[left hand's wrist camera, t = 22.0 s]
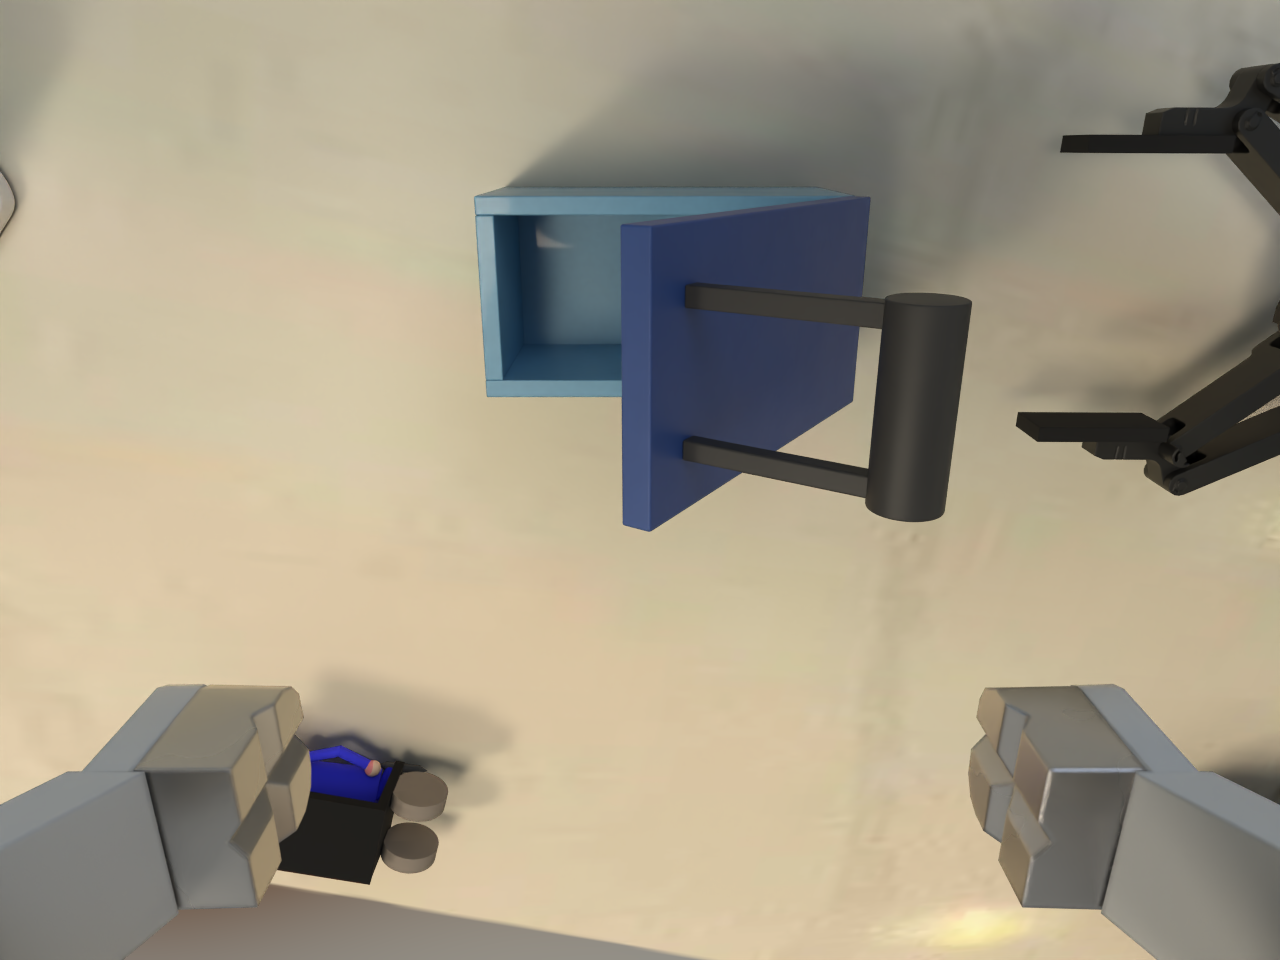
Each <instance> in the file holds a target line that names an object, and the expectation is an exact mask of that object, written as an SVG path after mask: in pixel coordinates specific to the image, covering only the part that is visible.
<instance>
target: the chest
mask: <svg viewBox="0 0 1280 960" xmlns="http://www.w3.org/2000/svg"><path fill="white" fill-rule="evenodd" d="M846 196H854V195H849V194H845V193H840V192H836V191H831V190H827V189H823V188H819V187H504V188H501V189H497V190H494V191H491V192H487V193H484V194H480V195H477V196H475V197H474V202H475V214H476V217H475V219H476V235H477V250H478V266H479V281H480V297H481V313H482V328H483V344H484V360H485V375H486V392H487V397H622V362H621V238H620V227H621V225H622V224H626V223H635V222H643V221H651V220H659V219H667V218H675V217H683V216H692V215H700V214H708V213H716V212H724V211H732V210H740V209H749V208H757V207H765V206H773V205H781V204H789V203H797V202H806V201H814V200H822V199H830V198H838V197H846Z"/></svg>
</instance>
